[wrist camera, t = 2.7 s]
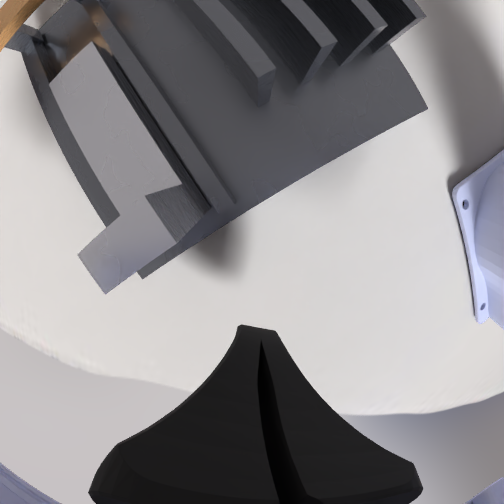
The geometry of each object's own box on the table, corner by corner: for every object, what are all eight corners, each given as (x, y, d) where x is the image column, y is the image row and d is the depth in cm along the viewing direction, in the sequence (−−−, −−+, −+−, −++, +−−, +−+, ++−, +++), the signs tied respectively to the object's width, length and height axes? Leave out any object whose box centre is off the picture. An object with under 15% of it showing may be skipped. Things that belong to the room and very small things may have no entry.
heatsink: (414, 112, 9) (484, 97, 5) (152, 268, 12) (102, 324, 7) (237, -79, 6) (231, -128, 1) (32, 53, 8) (-22, 38, 4)
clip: (210, 208, 10) (176, 243, 6) (160, 243, 10) (105, 294, 6) (108, 51, 8) (45, 14, 3) (68, 89, 8) (-3, 73, 4)
